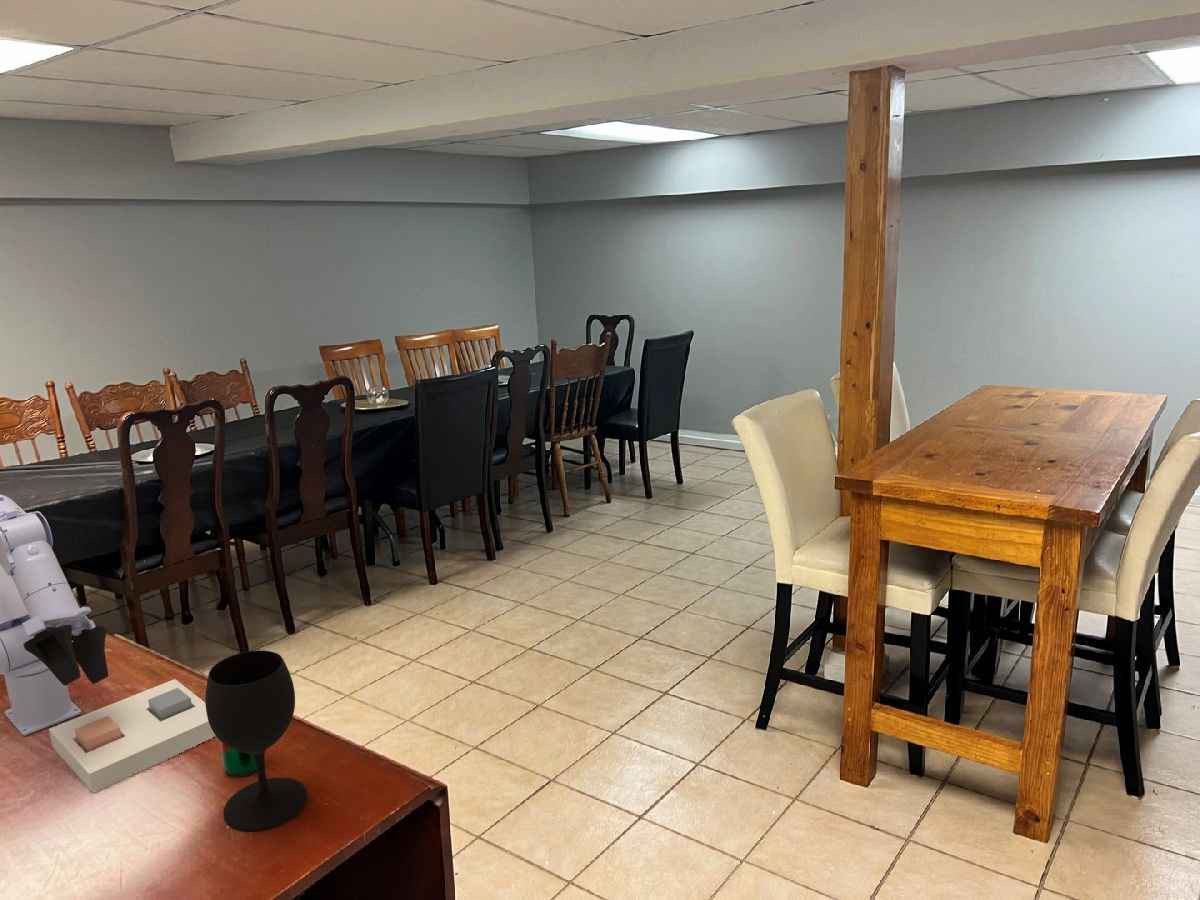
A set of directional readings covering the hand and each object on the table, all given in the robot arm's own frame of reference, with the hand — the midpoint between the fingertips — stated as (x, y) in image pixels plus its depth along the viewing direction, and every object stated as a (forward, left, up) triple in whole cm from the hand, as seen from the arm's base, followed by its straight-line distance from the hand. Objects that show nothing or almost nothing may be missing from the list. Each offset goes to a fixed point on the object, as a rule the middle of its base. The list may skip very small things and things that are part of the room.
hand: (86, 680), depth 119 cm
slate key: (-2, +11, -10) cm, 15 cm away
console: (-2, +6, -13) cm, 15 cm away
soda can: (+16, +13, -13) cm, 24 cm away
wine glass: (+26, +11, -13) cm, 31 cm away
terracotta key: (-2, +1, -10) cm, 10 cm away
